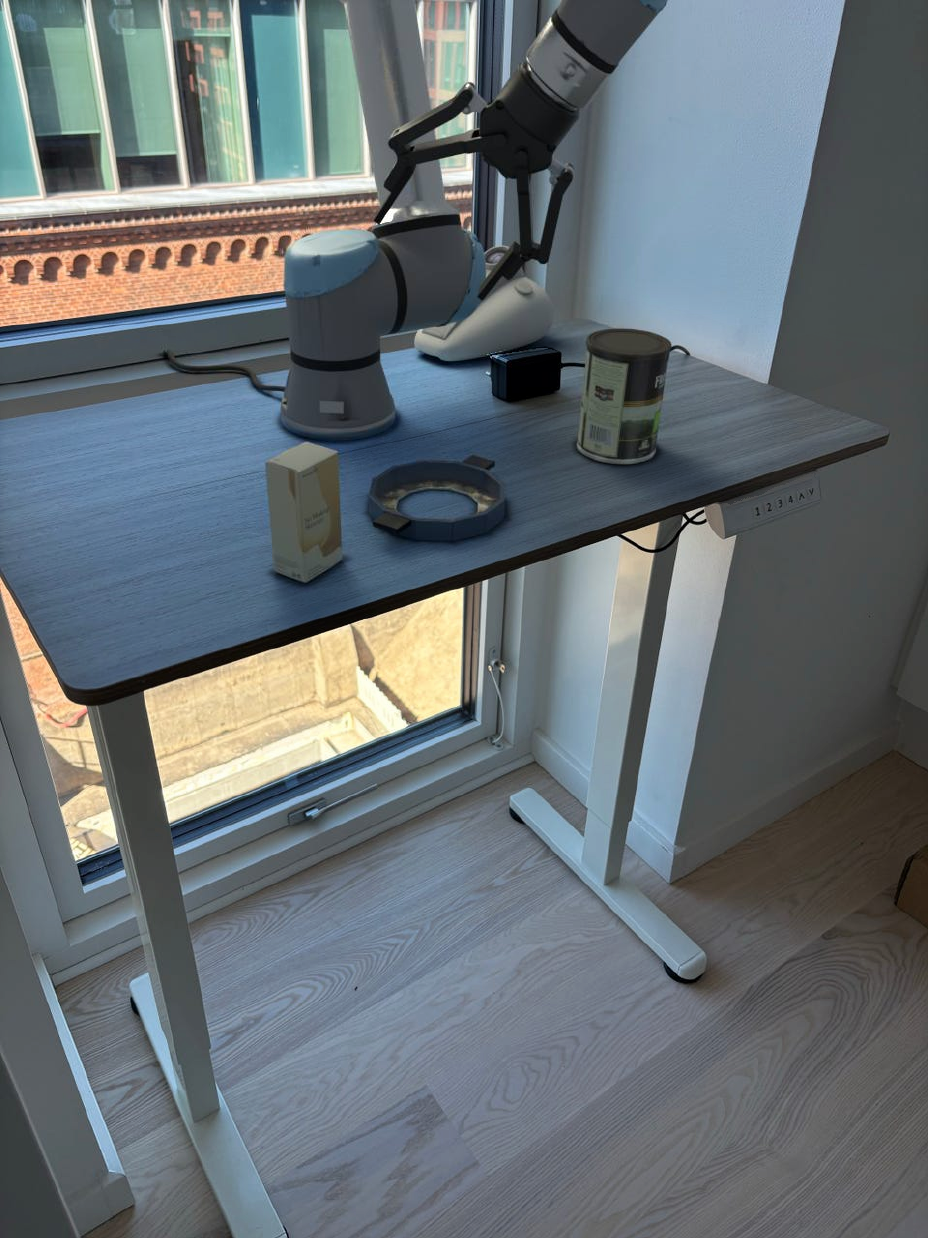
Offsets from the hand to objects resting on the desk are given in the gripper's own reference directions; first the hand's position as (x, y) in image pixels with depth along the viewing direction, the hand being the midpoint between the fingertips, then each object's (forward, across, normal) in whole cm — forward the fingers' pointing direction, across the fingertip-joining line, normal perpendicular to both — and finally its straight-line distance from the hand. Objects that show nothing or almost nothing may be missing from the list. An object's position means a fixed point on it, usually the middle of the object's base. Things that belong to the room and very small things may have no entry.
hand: (430, 256), depth 106 cm
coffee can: (+8, +34, +5) cm, 35 cm away
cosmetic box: (+21, +4, -30) cm, 37 cm away
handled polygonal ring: (+17, +15, -15) cm, 27 cm away
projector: (+26, +20, +41) cm, 52 cm away
